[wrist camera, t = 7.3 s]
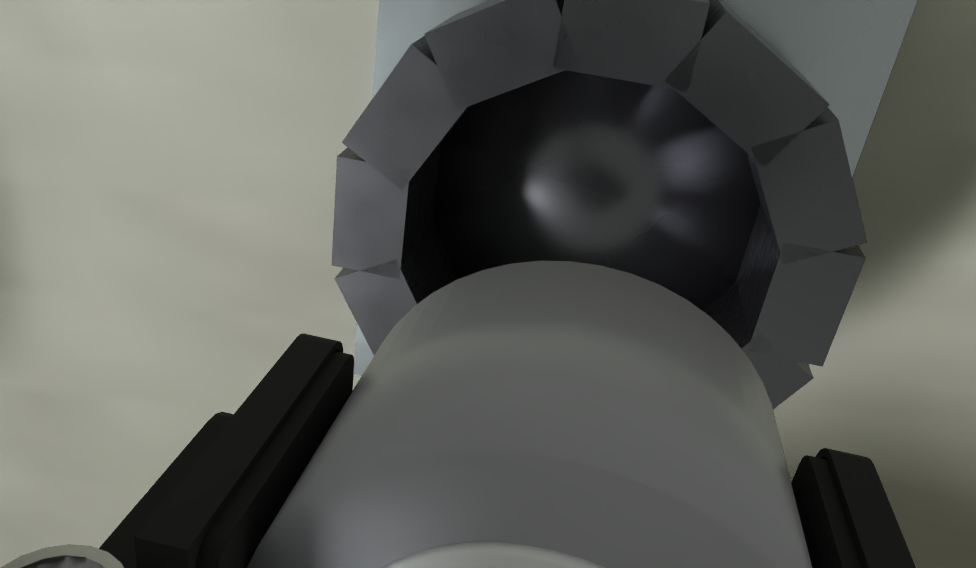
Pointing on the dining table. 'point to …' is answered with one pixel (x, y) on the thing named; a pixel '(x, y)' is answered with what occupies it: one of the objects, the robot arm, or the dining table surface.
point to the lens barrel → (621, 156)
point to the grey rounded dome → (548, 438)
